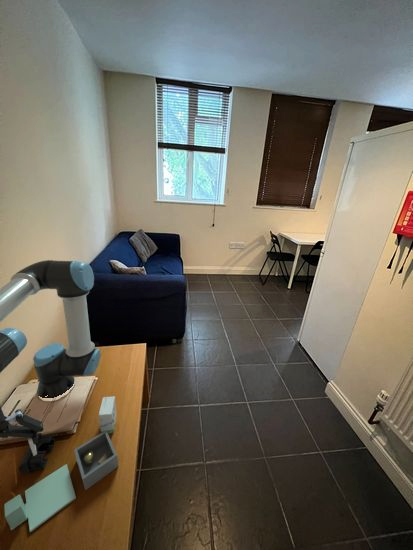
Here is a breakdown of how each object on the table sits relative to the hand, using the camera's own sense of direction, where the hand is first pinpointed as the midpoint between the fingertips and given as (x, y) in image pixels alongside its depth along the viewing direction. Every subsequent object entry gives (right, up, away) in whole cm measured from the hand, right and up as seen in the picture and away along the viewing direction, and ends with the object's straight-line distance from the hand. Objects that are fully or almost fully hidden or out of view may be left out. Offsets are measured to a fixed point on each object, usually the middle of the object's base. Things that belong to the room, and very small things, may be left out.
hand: (3, 468), depth 60 cm
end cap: (-7, -16, +22) cm, 28 cm away
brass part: (+12, -16, +22) cm, 29 cm away
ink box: (+13, -12, +35) cm, 39 cm away
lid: (+3, -20, +11) cm, 24 cm away
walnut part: (+18, -17, +21) cm, 32 cm away
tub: (+15, -17, +22) cm, 31 cm away
